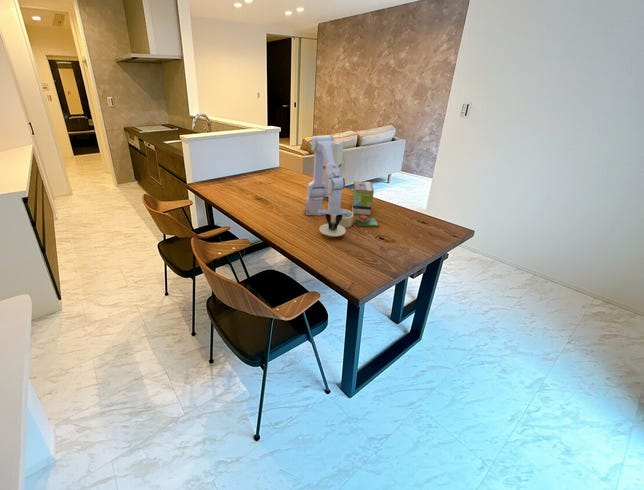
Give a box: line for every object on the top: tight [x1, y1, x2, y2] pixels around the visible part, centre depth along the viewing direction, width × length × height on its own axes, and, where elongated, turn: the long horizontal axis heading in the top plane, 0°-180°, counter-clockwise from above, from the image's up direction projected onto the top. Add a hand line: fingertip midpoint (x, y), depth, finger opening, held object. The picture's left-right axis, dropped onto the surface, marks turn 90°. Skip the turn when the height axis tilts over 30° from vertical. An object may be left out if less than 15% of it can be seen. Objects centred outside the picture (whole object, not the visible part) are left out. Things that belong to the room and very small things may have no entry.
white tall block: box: [322, 139, 345, 201], centre depth 182 cm, size 11×11×35 cm
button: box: [359, 214, 368, 220], centre depth 153 cm, size 3×3×2 cm
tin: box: [331, 208, 355, 229], centre depth 154 cm, size 11×11×5 cm
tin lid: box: [318, 222, 347, 238], centre depth 142 cm, size 12×12×4 cm
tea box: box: [351, 180, 375, 216], centre depth 167 cm, size 15×10×15 cm
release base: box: [355, 215, 379, 228], centre depth 154 cm, size 10×8×3 cm
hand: (332, 228), depth 142 cm, fingers closed on tin lid, 2 cm apart
